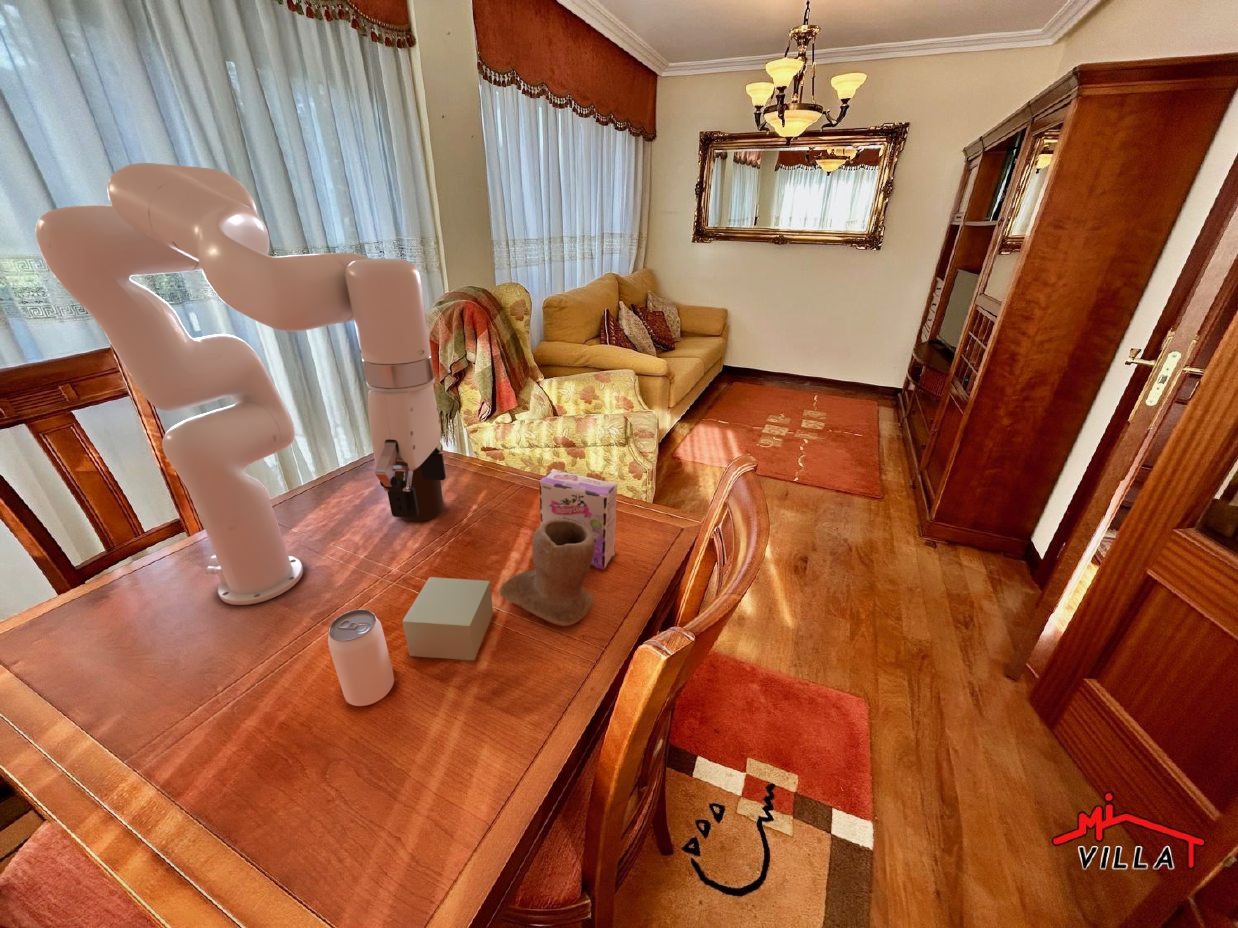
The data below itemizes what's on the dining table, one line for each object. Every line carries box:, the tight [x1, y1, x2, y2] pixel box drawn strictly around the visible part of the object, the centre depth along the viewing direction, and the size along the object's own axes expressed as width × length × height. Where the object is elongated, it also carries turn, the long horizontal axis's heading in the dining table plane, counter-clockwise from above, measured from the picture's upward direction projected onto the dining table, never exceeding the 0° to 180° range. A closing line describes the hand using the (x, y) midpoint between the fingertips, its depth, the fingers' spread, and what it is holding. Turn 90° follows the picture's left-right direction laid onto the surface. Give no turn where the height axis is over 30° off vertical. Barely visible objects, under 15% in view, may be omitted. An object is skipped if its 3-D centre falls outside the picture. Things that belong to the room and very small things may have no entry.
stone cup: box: [498, 519, 595, 627], centre depth 84 cm, size 15×12×15 cm
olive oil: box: [395, 461, 444, 523], centre depth 106 cm, size 11×11×25 cm
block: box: [401, 576, 494, 661], centre depth 78 cm, size 10×10×7 cm
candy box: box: [538, 468, 618, 570], centre depth 96 cm, size 14×6×16 cm, turn 68°
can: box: [327, 608, 395, 707], centre depth 68 cm, size 6×6×12 cm
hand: (421, 496), depth 67 cm, fingers open, 9 cm apart
